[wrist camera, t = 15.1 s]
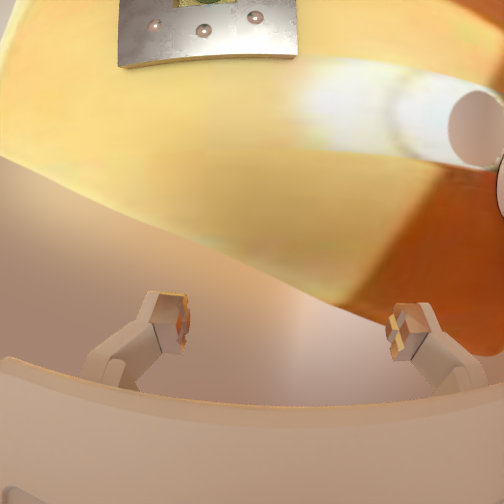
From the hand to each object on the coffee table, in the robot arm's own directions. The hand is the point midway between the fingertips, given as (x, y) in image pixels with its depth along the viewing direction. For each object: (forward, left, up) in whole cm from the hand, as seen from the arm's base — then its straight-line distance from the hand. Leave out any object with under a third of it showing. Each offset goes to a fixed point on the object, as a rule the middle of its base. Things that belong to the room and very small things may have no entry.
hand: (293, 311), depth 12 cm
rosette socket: (+6, -22, -25) cm, 34 cm away
